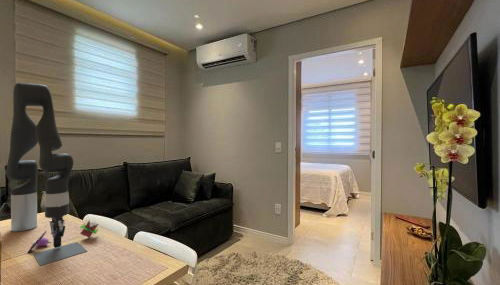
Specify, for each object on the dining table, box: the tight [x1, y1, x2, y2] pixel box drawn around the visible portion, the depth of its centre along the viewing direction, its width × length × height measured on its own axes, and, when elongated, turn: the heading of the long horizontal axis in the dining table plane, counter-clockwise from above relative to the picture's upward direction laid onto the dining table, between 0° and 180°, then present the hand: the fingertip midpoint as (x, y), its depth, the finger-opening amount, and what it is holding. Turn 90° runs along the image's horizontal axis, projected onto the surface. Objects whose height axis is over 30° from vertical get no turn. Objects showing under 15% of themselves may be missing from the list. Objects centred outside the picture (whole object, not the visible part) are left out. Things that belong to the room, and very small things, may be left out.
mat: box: [33, 241, 88, 267], centre depth 92 cm, size 13×14×1 cm
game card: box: [27, 230, 52, 254], centre depth 97 cm, size 7×5×9 cm
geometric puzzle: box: [79, 219, 99, 238], centre depth 106 cm, size 7×7×8 cm
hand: (57, 246), depth 95 cm, fingers closed
